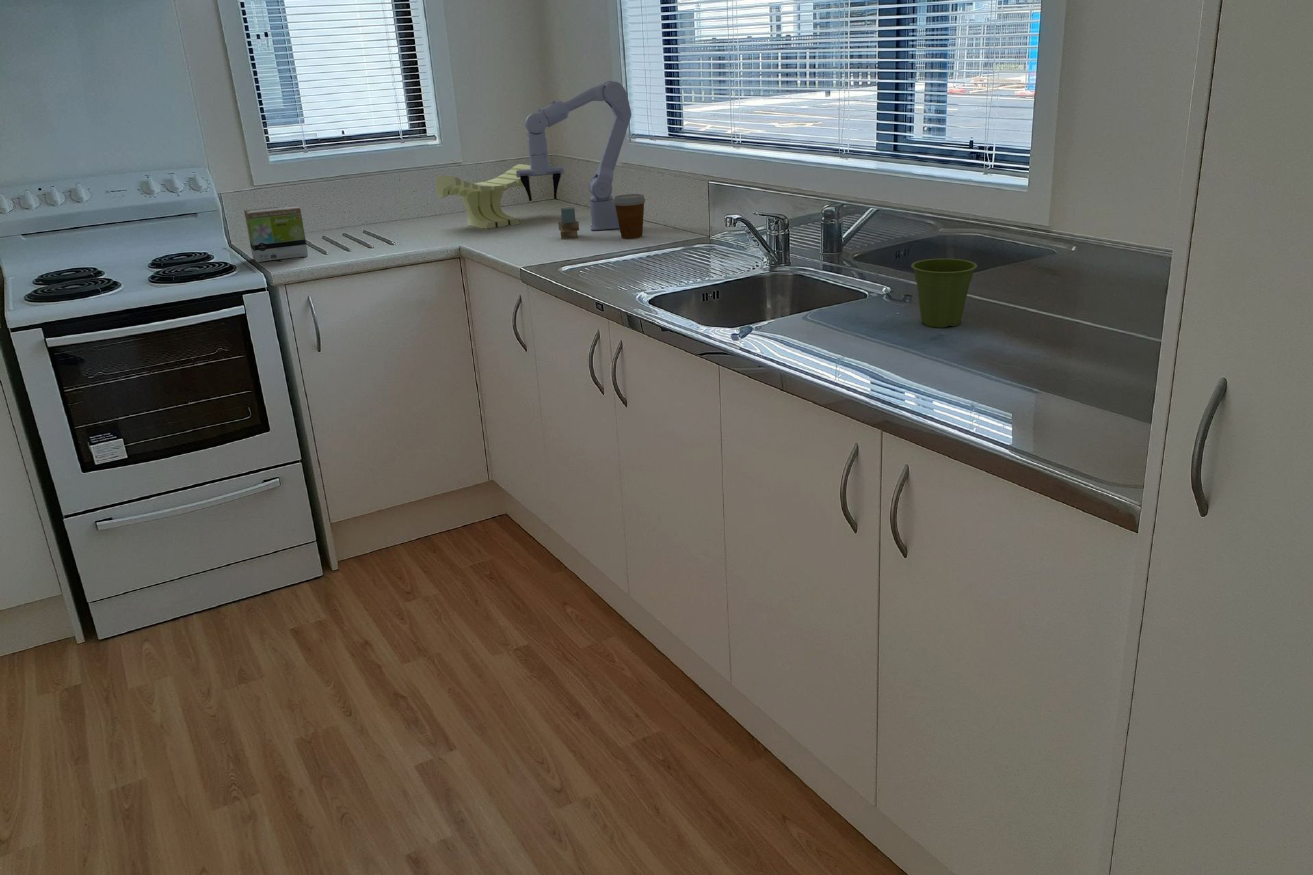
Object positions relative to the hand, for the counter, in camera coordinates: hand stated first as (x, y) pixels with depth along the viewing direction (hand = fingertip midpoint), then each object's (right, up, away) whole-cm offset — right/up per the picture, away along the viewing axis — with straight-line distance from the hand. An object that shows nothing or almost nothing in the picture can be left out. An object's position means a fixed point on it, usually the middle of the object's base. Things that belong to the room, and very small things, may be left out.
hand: (543, 199), depth 314 cm
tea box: (-78, -19, -7) cm, 81 cm away
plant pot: (+89, -52, -121) cm, 159 cm away
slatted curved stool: (-20, -2, +29) cm, 35 cm away
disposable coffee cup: (+28, -14, -12) cm, 33 cm away
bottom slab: (+9, -13, -5) cm, 16 cm away
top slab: (+9, -11, -6) cm, 15 cm away
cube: (+9, -8, -7) cm, 14 cm away
